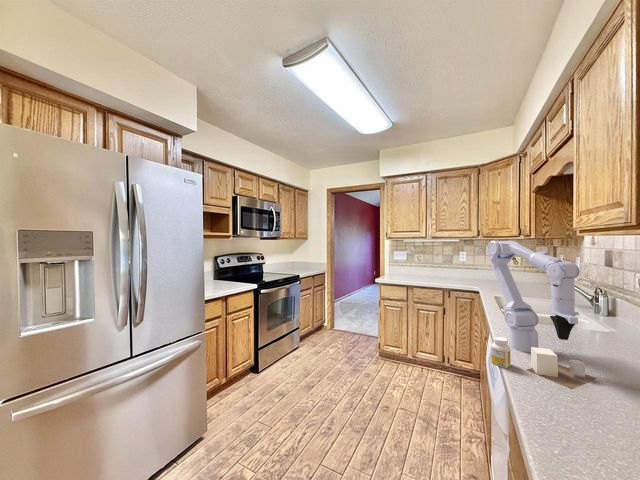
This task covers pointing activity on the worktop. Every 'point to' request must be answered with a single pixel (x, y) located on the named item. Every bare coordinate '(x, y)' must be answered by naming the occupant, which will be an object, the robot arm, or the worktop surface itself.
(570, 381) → the board
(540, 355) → the cream rectangular block
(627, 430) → the worktop surface
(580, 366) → the post
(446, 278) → the worktop surface
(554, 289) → the robot arm
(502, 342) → the supplement bottle
